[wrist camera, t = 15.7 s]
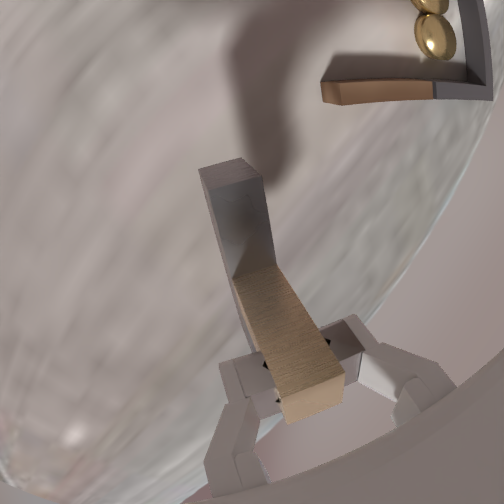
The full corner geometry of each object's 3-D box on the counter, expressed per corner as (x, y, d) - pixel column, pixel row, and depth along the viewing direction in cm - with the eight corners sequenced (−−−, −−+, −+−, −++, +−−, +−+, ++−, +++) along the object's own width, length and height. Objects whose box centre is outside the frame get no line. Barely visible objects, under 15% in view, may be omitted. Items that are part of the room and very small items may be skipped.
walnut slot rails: (286, -77, 11) (301, -90, 9) (384, -59, 12) (404, -65, 10) (323, 102, 19) (341, 105, 17) (412, 94, 20) (433, 99, 18)
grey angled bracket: (389, -57, 12) (408, -63, 10) (457, -31, 14) (475, -32, 12) (416, 95, 21) (436, 99, 18) (475, 96, 22) (493, 100, 20)
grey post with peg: (198, 169, 13) (257, 296, 6) (241, 157, 13) (352, 262, 6) (242, 325, 19) (294, 456, 11) (272, 315, 19) (336, 439, 11)
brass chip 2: (407, 14, 17) (420, 13, 15) (438, 15, 17) (450, 15, 16) (418, 60, 19) (431, 61, 18) (447, 57, 19) (459, 59, 18)
